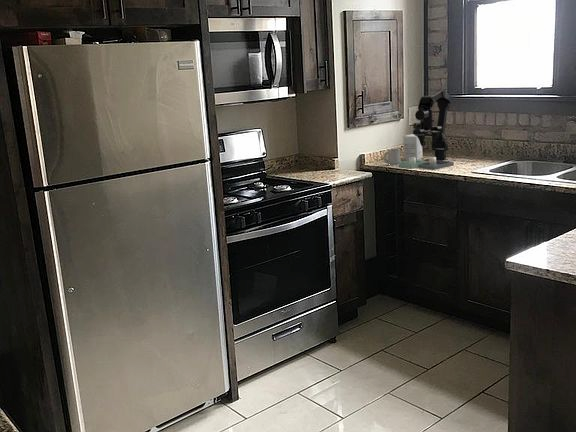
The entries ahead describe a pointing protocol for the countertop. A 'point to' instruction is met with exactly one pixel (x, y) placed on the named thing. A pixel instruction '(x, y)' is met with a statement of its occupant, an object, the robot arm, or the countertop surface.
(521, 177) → the countertop surface
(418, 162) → the green bin
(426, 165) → the grey tray
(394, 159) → the cup
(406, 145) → the supplement box
